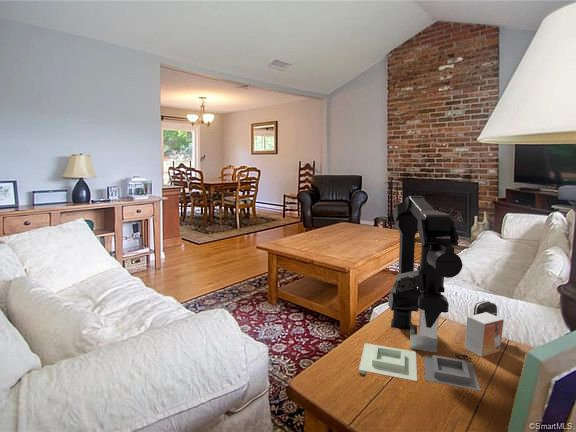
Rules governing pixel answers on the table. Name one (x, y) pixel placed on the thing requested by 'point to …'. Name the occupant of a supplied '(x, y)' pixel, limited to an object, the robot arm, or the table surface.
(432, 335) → the steel peg
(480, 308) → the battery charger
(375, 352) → the pale green socket
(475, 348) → the small box
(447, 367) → the charcoal socket
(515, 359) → the table surface
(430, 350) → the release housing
